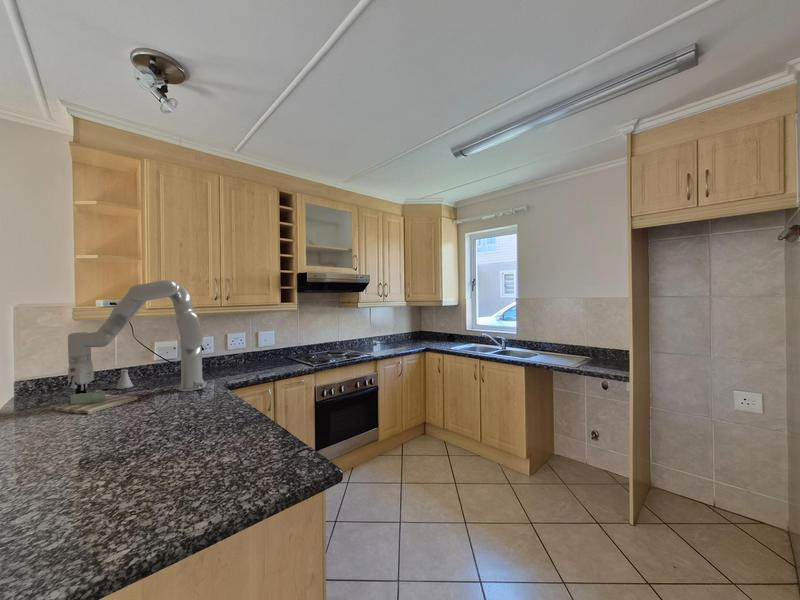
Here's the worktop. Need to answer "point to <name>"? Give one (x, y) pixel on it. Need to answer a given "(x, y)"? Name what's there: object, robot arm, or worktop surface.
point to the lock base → (97, 404)
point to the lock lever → (87, 397)
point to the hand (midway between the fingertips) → (81, 398)
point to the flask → (124, 380)
